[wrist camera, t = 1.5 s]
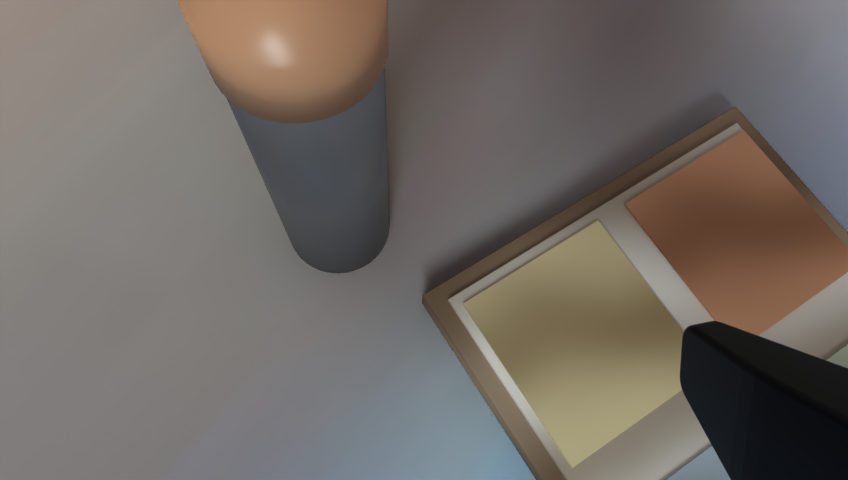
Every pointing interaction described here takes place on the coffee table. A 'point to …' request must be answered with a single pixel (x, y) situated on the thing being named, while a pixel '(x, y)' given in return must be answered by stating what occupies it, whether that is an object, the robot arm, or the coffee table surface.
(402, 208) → the coffee table surface
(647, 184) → the picture board
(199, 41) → the marker
